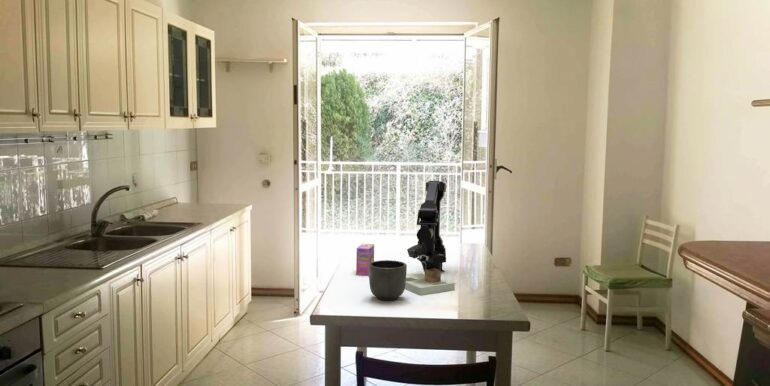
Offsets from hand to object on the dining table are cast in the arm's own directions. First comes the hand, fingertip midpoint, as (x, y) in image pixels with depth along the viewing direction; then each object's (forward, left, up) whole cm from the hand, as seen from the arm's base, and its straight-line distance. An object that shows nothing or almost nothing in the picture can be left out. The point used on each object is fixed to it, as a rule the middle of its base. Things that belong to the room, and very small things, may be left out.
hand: (426, 276), depth 248 cm
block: (0, +4, -1) cm, 4 cm away
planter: (+25, +11, -3) cm, 28 cm away
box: (+13, -29, -3) cm, 32 cm away
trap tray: (+3, +1, -3) cm, 5 cm away
